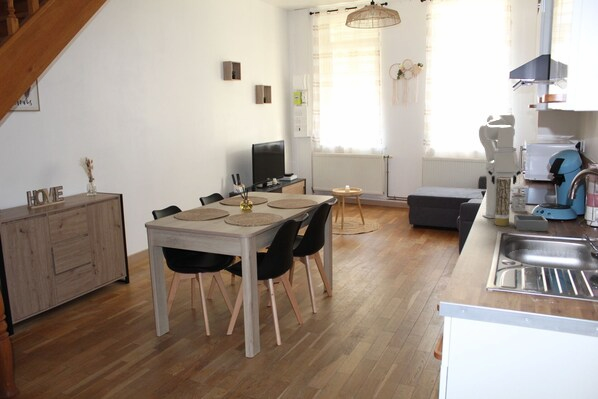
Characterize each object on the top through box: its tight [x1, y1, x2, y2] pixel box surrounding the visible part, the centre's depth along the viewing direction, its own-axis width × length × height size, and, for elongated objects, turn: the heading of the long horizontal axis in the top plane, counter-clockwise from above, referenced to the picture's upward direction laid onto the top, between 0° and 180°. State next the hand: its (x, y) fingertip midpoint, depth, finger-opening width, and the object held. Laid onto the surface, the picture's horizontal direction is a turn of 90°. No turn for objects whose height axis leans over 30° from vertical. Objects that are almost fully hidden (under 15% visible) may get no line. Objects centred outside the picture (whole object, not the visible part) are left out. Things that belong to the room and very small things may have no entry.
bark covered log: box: [494, 177, 512, 227], centre depth 254 cm, size 7×7×25 cm
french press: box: [510, 177, 528, 212], centre depth 292 cm, size 10×12×25 cm
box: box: [513, 214, 549, 232], centre depth 248 cm, size 14×14×5 cm
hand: (503, 183), depth 252 cm, fingers open, 9 cm apart
